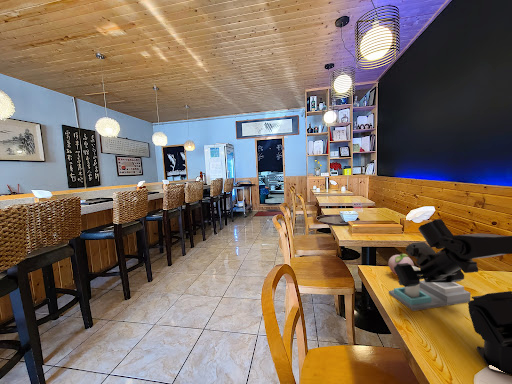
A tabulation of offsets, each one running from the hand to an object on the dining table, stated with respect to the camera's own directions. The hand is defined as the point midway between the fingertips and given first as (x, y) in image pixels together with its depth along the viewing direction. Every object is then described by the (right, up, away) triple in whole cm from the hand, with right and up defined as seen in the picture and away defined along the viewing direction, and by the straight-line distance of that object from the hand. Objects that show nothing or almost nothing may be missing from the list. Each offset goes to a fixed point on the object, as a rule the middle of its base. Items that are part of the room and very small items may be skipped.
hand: (412, 281), depth 72 cm
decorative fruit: (+7, -5, +16) cm, 18 cm away
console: (+6, -6, +2) cm, 9 cm away
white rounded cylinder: (0, -5, +1) cm, 5 cm away
